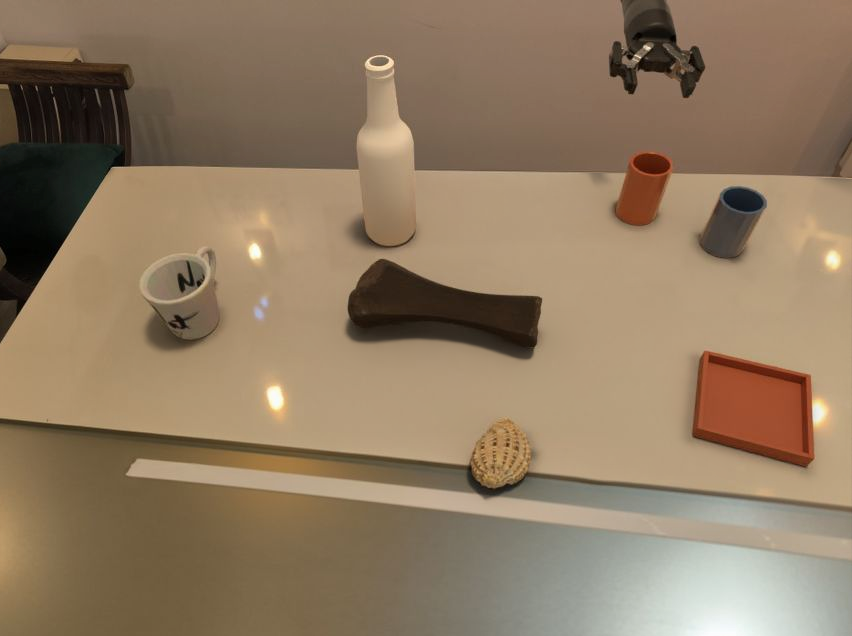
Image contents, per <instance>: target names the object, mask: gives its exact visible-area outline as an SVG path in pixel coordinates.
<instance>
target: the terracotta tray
mask: <svg viewBox="0 0 852 636" xmlns="http://www.w3.org/2000/svg"><path fill="white" fill-rule="evenodd" d="M698 363H699V364H698V374H697V384H696V396H695V405H694V416H693V427H692V437H694V438H698V439H703V440H705V441H710V442H713V443H717V444H721V445H725V446H728V447H732V448H736V449H739V450H744V451H746V452H751V453H754V454H758V455H761V456H766V457H769V458H773V459H776V460H780V461H784V462H788V463H791V464H794V465H799V466H802V467H808V466H809V465H810V464H811V463H812V462H813V461H815V441H814V418H813V414H814V413H813V391H812V374H809V373H803V372H800V371H795V370H792V369H786V368H784V367H778V366H774V365H770V364H765V363H762V362H756V361H752V360H747V359H744V358H739V357H735V356H731V355H726V354H723V353H718V352H713V351H710V350H704V351H703V353H702V354H701V355H700V357H699V362H698Z"/></svg>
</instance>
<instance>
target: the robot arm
mask: <svg viewBox="0 0 852 636" xmlns="http://www.w3.org/2000/svg"><path fill="white" fill-rule="evenodd" d="M619 1H620V4H621V8H622V15H623V34H624V38H625V45H626V46H622V43H621V41H619V40H615V41H613V43H612V45H611V49H610V52H609V56H608V67H609V77H611V78H617V77H620V79H621V80H622V83H623V84H622V85H623V89H624V90H625V92H627V94H628V95H634V94H635V92H636V90H637V87H638V83H639V82H638V77H637V76H638V73H639V72H641V71H643V72H644V73H657V74H664V75H665V76H666V77H667V78H669V79H671V80H673V79H675V80H677V82H679V86H680V87H679V88H680V91H681V95H682V98H683V99H689V98H690V96H692V95H693V93H694V91H695V89H696V87H697V83H699V81H700V80H701V77H702V75H703V74H704V72H705V71H706V65H705V64H706V63H705V62H704V59H703V56H702V52H701V51H700V48H699V46H697V45H692V46H691V47H690V49H689V50H686V49H685V50H683V49H682V48H681V47H680V46H679V45H678V42H677V32H676V28H675V23H674V19H673V15H672V10H671V8H670V6H669V4H668V1H667V0H619ZM624 57H626V59H627V60H628V61H627V63H623V59H624ZM672 67H673V68H672ZM682 70H683V71H684V72H683V73H682V72H681V71H682Z"/></svg>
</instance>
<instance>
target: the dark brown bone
mask: <svg viewBox="0 0 852 636" xmlns="http://www.w3.org/2000/svg"><path fill="white" fill-rule="evenodd" d="M542 303H543V298H542V297H541V296H539V295H521V294H520V295H518V294H517V295H516V294H495V293H484V292H477V291H470V290H465V289H461V288H456V287H453V286H448V285H445V284H442V283H439V282H436V281H433V280H431V279H429V278H426V277H423V276H422V275H419V274H417V273H415V272H413V271H411V270H410V269H407V268H405V267H403V266H402V265H400V264H398V263H396V262H394V261H391V260H389V259H386V258H379V259H377V260H376V261H374V262H373V263H372V264H371V265H369V267H368V268H367V270H365V271H364V272H363V273H362V274H361V276H360V277H359V278H358V281H357V282H356V286H355V288H354V289H353V290H351V292H350V293H349V296H348V302H347V314H348V317H349V320H350V321H351V323H352V324H353V325H355V326H356V327H359V328H371V327H378V326H384V325H391V324H398V323H408V322H413V323H414V322H427V323H429V322H430V323H441V324H449V325H455V326H460V327H464V328H469V329H473V330H477V331H480V332H483V333H487V334H489V335H492V336H495V337H498V338H500V339H503V340H506V341H508V342H511V343H513V344H515V345H518V346H521V347H523V348H527V349H533V348H535V347H536V346H537V344H538V336H539V321H540V319H541V315H542Z"/></svg>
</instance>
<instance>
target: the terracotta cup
mask: <svg viewBox="0 0 852 636" xmlns="http://www.w3.org/2000/svg"><path fill="white" fill-rule="evenodd" d="M673 171H674V163H673V161H672V159H670V158H669V157H668V156H667V155H666V154H662V153H660V152H656V151H650V150H649V151H640V152H638V153H635V154H634V155H632V156H631V157H630V160H629V163H628V167H627V170H626V173H625V177H624V178H623V179H624V180H623V183H622V186H621V190H620V193H619V196H618V200H617V203H616V206H615V215H616V217H618V219H619V220H620V221H622V222H624V223H626V224H628V225H633V226H645V225H648V224H650V223H652V222H653V221H654V220H655V218H656V217H657V214H658V212H659V208H660V206H661V204H662V200H663V198H664V195H665V192H666V191H667V186H668V185H669V181H670V179H671V176H672V173H673Z"/></svg>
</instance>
